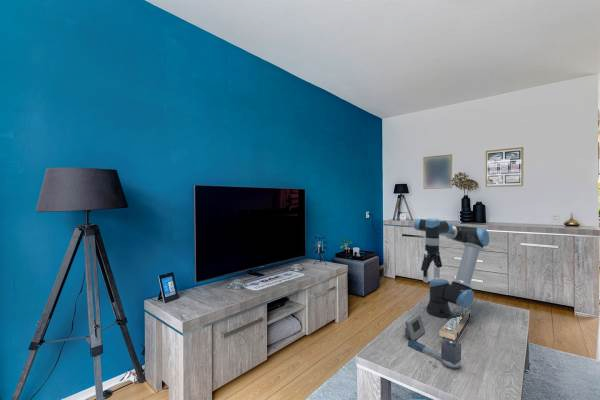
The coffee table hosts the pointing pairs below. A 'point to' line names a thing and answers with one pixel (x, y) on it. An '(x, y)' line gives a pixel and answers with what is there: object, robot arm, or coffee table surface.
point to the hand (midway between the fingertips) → (431, 279)
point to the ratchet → (432, 354)
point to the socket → (451, 351)
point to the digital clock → (414, 327)
